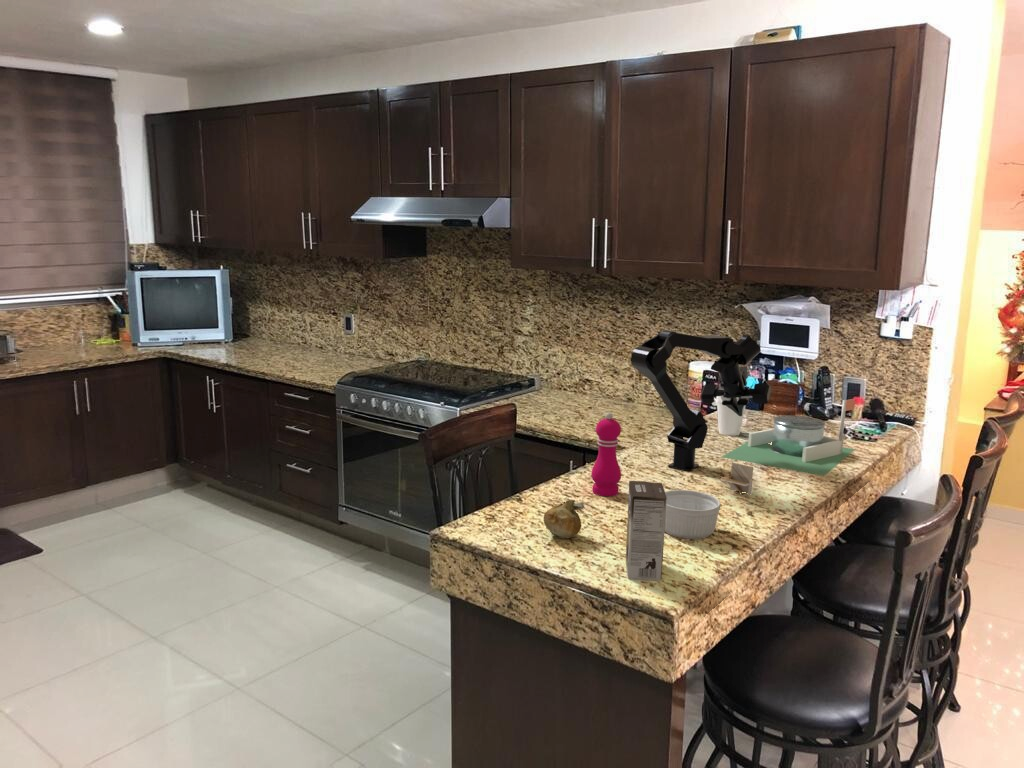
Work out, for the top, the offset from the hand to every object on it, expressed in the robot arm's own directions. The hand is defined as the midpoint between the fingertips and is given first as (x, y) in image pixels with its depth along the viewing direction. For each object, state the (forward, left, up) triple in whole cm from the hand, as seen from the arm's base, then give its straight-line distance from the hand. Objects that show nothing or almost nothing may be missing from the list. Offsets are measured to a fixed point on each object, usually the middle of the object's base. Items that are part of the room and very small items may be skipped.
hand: (740, 415), depth 229 cm
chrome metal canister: (+15, -13, -11) cm, 22 cm away
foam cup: (+22, +11, -12) cm, 27 cm away
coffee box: (-92, -15, -12) cm, 94 cm away
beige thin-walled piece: (+17, -13, -12) cm, 24 cm away
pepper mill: (-56, +13, -12) cm, 59 cm away
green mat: (+11, -12, -12) cm, 20 cm away
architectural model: (-35, -13, -12) cm, 39 cm away
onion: (-87, +6, -12) cm, 88 cm away
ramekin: (-67, -13, -12) cm, 69 cm away
